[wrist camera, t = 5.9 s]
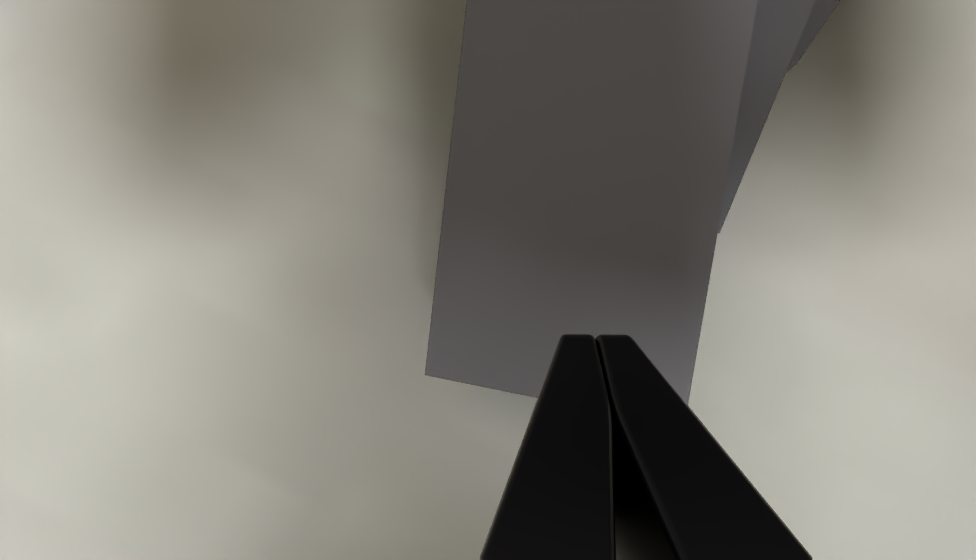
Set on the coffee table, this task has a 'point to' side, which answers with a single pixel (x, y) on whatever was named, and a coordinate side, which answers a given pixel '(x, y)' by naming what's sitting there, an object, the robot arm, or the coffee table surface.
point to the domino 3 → (812, 27)
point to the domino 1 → (584, 182)
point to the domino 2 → (763, 80)
